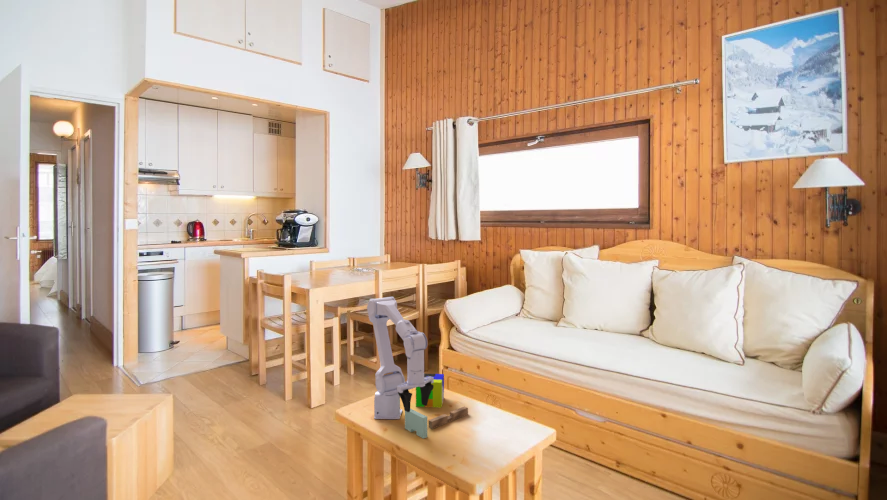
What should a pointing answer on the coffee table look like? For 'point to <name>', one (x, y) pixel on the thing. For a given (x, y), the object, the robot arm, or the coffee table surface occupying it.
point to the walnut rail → (447, 417)
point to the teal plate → (416, 423)
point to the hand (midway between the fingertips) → (415, 407)
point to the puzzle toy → (433, 392)
